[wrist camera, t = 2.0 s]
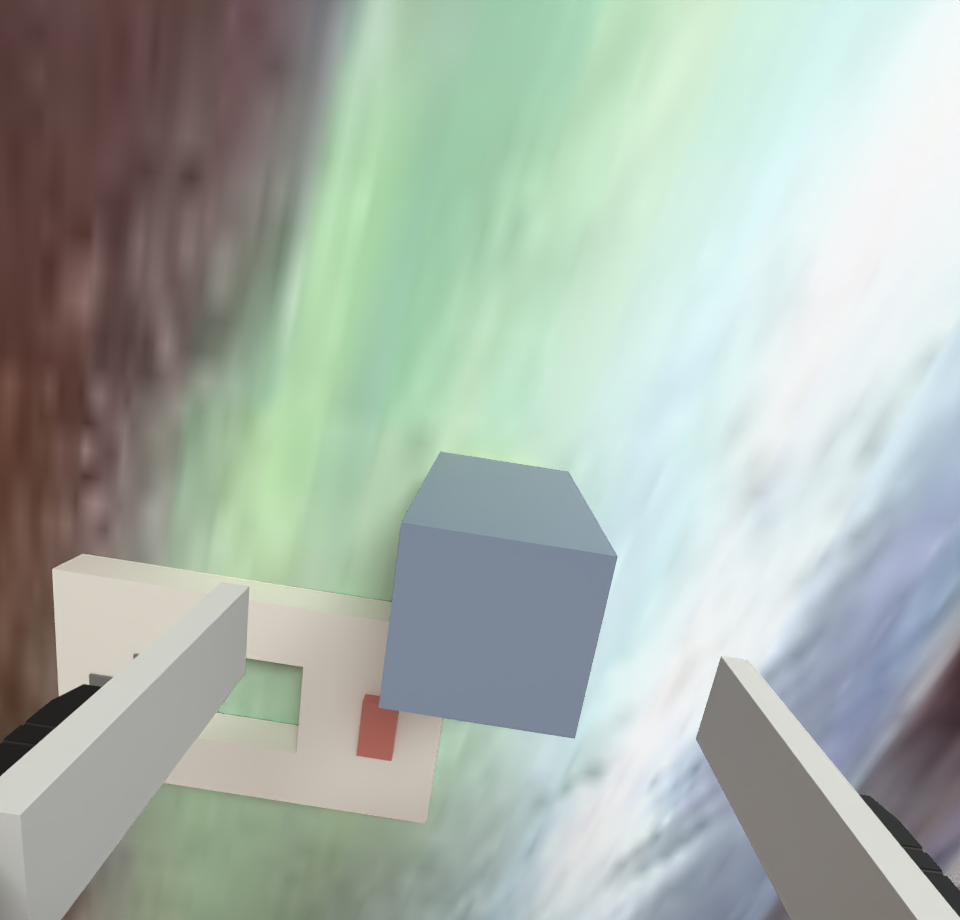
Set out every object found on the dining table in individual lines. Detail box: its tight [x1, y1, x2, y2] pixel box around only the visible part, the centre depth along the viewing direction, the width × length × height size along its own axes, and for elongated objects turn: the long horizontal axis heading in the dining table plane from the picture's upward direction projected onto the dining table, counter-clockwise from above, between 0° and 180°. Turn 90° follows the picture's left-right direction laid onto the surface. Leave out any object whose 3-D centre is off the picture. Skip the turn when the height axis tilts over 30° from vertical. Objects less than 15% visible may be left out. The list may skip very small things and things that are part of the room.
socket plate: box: [52, 554, 443, 824], centre depth 28 cm, size 22×13×3 cm, turn 81°
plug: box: [379, 452, 617, 738], centre depth 21 cm, size 6×6×12 cm
